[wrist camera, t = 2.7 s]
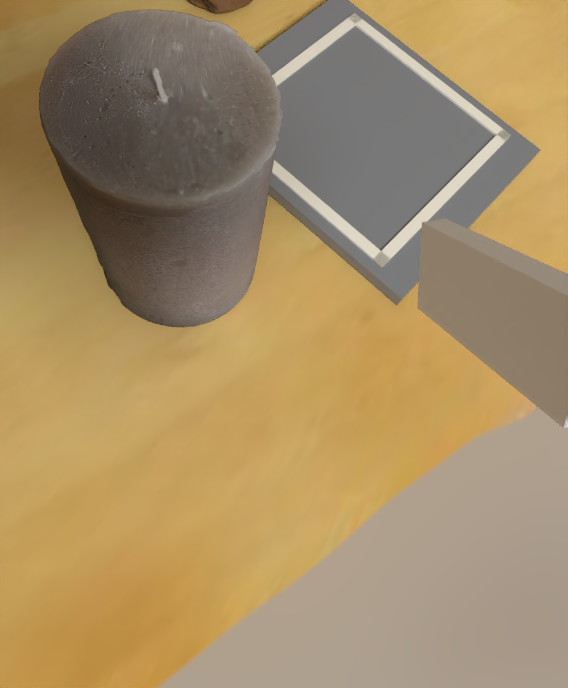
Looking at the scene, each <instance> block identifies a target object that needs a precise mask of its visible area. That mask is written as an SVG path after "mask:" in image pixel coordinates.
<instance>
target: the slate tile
mask: <svg viewBox="0 0 568 688" xmlns="http://www.w3.org/2000/svg"><path fill="white" fill-rule="evenodd" d="M257 54H258V56H259V57H261V59H262V60H263V62H264V63H265V64H266V65H267V66H268V68H269V69H270V70H271V75H272V77H273V79H274V80H275V83H276V86H277V88H278V90H279V91H280V94H281V102H280V108H281V109H282V110H283V111H284V113H283V118H282V120H281V126H280V133H279V140H278V142H277V147H276V152H275V157H274V163H273V169H272V175H271V180H270V187H269V192H268V194H269V195H270V196H271V197H273V198H274V199H275V200H276V201H277V202H278V203H279V204H281V205H282V206H283V207H284V208H285V209H286V210H288V211H289V212H290V213H291V214H292V215H293V216H294V217H296V218H297V219H298V220H299V221H300V222H301V223H303V224H304V225H305V226H306V227H307V228H308V229H309V230H311V231H312V232H313V233H314V234H315V235H316V236H318V237H319V238H320V239H321V240H322V241H323V242H324V243H326V244H327V245H328V246H329V247H330V248H331V249H333V250H334V251H335V252H336V253H337V254H338V255H339V256H341V257H342V258H343V259H344V260H345V261H346V262H348V263H349V264H350V265H351V266H352V267H353V268H354V269H356V270H357V271H358V272H359V273H360V274H361V275H363V276H364V277H365V278H366V279H367V280H368V281H369V282H371V283H372V284H373V285H374V286H375V287H376V288H378V289H379V290H380V291H381V292H382V293H383V294H384V295H386V296H387V297H388V298H389V299H390V300H391V301H393V302H394V303H395V304H396V305H397V304H398V303H399V302H400V301H401V300H402V299H403V298H404V297H405V296H406V295H407V294H408V293H409V291H410V290H411V289H412V288H413V287H414V286H415V285H416V284H417V283H418V282H419V271H420V250H421V230H422V222H426V221H433V220H440V219H448V220H450V221H452V222H454V223H456V224H459V225H461V226H463V227H465V228H467V229H468V228H469V227H470V226H471V225H472V224H473V223H474V222H475V221H476V219H477V218H478V217H479V216H480V215H481V214H482V213H483V212H484V211H485V210H486V209H487V208H488V207H489V206H490V204H491V203H492V202H493V201H494V200H495V199H496V198H497V197H498V196H499V195H500V194H501V193H502V192H503V190H504V189H505V188H506V187H507V186H508V185H509V184H510V183H511V182H512V181H513V180H514V179H515V178H516V177H517V175H518V174H519V173H520V172H521V171H522V170H523V169H524V168H525V167H526V166H527V165H528V164H529V163H530V161H531V160H532V159H533V158H534V157H535V156H536V155H537V154H538V152H539V151H540V149H539V148H537V147H536V146H535V145H534V144H532V143H531V142H530V141H528V140H527V139H526V138H525V137H523V136H522V135H521V134H519V133H518V132H517V131H516V130H514V129H513V128H512V127H510V126H509V125H508V124H507V123H505V122H504V121H503V120H501V119H500V118H499V117H498V116H496V115H495V114H494V113H492V112H491V111H490V110H489V109H487V108H486V107H485V106H483V105H482V104H481V103H480V102H478V101H477V100H476V99H474V98H473V97H472V96H471V95H469V94H468V93H467V92H465V91H464V90H463V89H462V88H460V87H459V86H458V85H456V84H455V83H454V82H453V81H451V80H450V79H449V78H447V77H446V76H445V75H444V74H442V73H441V72H440V71H438V70H437V69H436V68H435V67H433V66H432V65H431V64H429V63H428V62H427V61H426V60H424V59H423V58H422V57H420V56H419V55H418V54H417V53H415V52H414V51H413V50H411V49H410V48H409V47H408V46H406V45H405V44H404V43H402V42H401V41H400V40H399V39H397V38H396V37H395V36H393V35H392V34H391V33H390V32H388V31H387V30H386V29H384V28H383V27H382V26H381V25H379V24H378V23H377V22H375V21H374V20H373V19H372V18H370V17H369V16H368V15H366V14H365V13H364V12H363V11H361V10H360V9H359V8H357V7H356V6H355V5H354V4H352V3H351V2H350V1H348V0H328V1H327V2H325V3H324V4H323V5H321V6H320V7H318V8H317V9H316V10H314V11H313V12H312V13H310V14H309V15H307V16H306V17H305V18H303V19H302V20H301V21H299V22H298V23H296V24H295V25H294V26H292V27H291V28H290V29H288V30H287V31H286V32H284V33H283V34H281V35H280V36H279V37H277V38H276V39H275V40H273V41H272V42H270V43H269V44H268V45H266V46H265V47H264V48H262V49H261V50H259V51H258V52H257Z"/></svg>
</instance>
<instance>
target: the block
mask: <svg viewBox="0 0 568 688" xmlns="http://www.w3.org/2000/svg"><path fill="white" fill-rule="evenodd" d="M189 1H190V2H191V3H192V4H194V5H196V6H198V7H200V8H206V9H208V10H210V11H211V12H214V13H223V12H230V11H233V10H236V9H238V8H241V7H244V6H246V5H248V4H249V3H251V2H252V1H253V0H189Z"/></svg>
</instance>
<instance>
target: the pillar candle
mask: <svg viewBox="0 0 568 688" xmlns="http://www.w3.org/2000/svg"><path fill="white" fill-rule="evenodd" d="M236 33H237V31H235V30H233V29H231V28H230V26H228V25H225V24H223V23H221V22H217V21H213V22H210V21H207V20H204V19H203V18H201V17H195V16H193V15H191V14H183V13H181V12H174V11H165V10H137V11H127V12H120V13H115V14H112V15H110V16H108V17H105V18H103V19H100V20H98V21H95V22H93V23H91V24H89V25H88V26H86V27H84V28H83V29H82V30H80V31H79V32H77V33H76V34H75V35H73V36H72V37H71V38H70V39H69V40H68V41H67V42H65V43H64V44H63V45H62V46H61V47H60V48H59V49H58V51H57V53H56V54H55V55H54V56H53V57H52V58H51V59H50V60H49V65H48V67H47V69H46V71H45V74H44V77H43V80H42V83H41V86H40V93H39V110H40V118H41V123H42V127H43V130H44V133H45V135H46V138H47V140H48V143H49V145H50V147H51V150H52V152H53V154H54V156H55V158H56V161H57V163H58V166H59V168H60V171H61V173H62V176H63V178H64V181H65V183H66V185H67V187H68V189H69V191H70V193H71V196H72V198H73V200H74V202H75V205H76V207H77V210H78V212H79V215H80V218H81V220H82V223H83V225H84V227H85V229H86V231H87V232H88V234H89V236H90V238H91V241H92V243H93V245H94V249H95V250H96V253H97V257H98V259H99V262H100V264H101V266H102V267H103V270H104V274H105V277H106V279H107V283H108V286H109V287H110V288H111V289H113V290H114V292H115V293H116V295H117V296H118V297H119V299H120V300H121V303H122V304H123V305H124V306H125V307H126V308H127V309H129V310H130V311H132V312H133V313H134V314H136V315H137V316H139V317H141V318H143V319H145V320H147V321H150V322H153V323H156V324H160V325H165V326H171V327H189V326H197V325H200V324H204V323H207V322H210V321H212V320H215V319H217V318H219V317H220V316H222V315H224V314H225V313H227V312H228V311H230V310H231V309H232V308H233V307H234V306H235V305H236V304H238V302H239V301H240V300H241V299H242V298H243V296H244V295H245V293H246V292H247V290H248V288H249V286H250V284H251V281H252V278H253V275H254V271H255V265H256V261H257V256H258V250H259V244H260V239H261V234H262V229H263V223H264V217H265V210H266V204H267V197H268V192H269V187H270V180H271V175H272V169H273V163H274V157H275V152H276V147H277V142H278V140H279V133H280V126H281V120H282V118H283V113H284V111H283V110H282V109H281V108H280V102H281V94H280V91H279V90H278V88H277V86H276V83H275V80H274V79H273V77H272V75H271V70H270V69H269V68H268V66H267V65H266V64H265V63H264V62H263V60H262V59H261V57H259V56H258V54H257V53H256V51H255V50H254V49H253V48H252V47H251V46H249V45H248V44H247V43H246V42H245V41H243V40H242V39H241V38H240V37H238V36H237V34H236Z"/></svg>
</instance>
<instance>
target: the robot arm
mask: <svg viewBox="0 0 568 688" xmlns="http://www.w3.org/2000/svg"><path fill="white" fill-rule="evenodd" d="M418 309H419V310H421V311H422V312H423V313H424V314H426V315H427V316H428V317H429V318H430V319H432V320H433V321H434V322H435V323H436V324H438V325H439V326H440V327H441V328H443V329H444V330H445V331H446V332H447V333H449V334H450V335H451V336H452V337H454V338H455V339H456V340H457V341H458V342H460V343H461V344H462V345H463V346H464V347H466V348H467V349H468V350H469V351H471V352H472V353H473V354H474V355H475V356H477V357H478V358H479V359H480V360H482V361H483V362H484V363H485V364H486V365H488V366H489V367H490V368H491V369H492V370H494V371H495V372H496V373H497V374H499V375H500V376H501V377H502V378H503V379H505V380H506V381H507V382H508V383H509V384H511V385H512V386H513V387H514V388H516V389H517V390H518V391H519V392H520V393H522V394H523V395H524V396H525V397H527V398H528V399H529V400H530V401H531V402H533V403H534V404H535V405H536V406H537V407H539V408H540V409H541V410H542V411H544V412H545V413H546V414H547V415H548V416H550V417H551V418H552V419H554V420H555V421H556V422H557V423H558V424H559V425H561V426H562V427H563V428H566V427H568V274H566V273H564V272H562V271H560V270H557V269H555V268H553V267H551V266H549V265H546V264H544V263H542V262H540V261H538V260H535V259H533V258H531V257H529V256H527V255H524V254H522V253H520V252H518V251H516V250H513V249H511V248H509V247H507V246H505V245H503V244H500V243H498V242H496V241H494V240H492V239H489V238H487V237H485V236H483V235H481V234H478V233H476V232H474V231H472V230H470V229H467V228H465V227H463V226H461V225H459V224H456V223H454V222H452V221H450V220H448V219H440V220H433V221H426V222H422V230H421V250H420V271H419V291H418Z"/></svg>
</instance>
